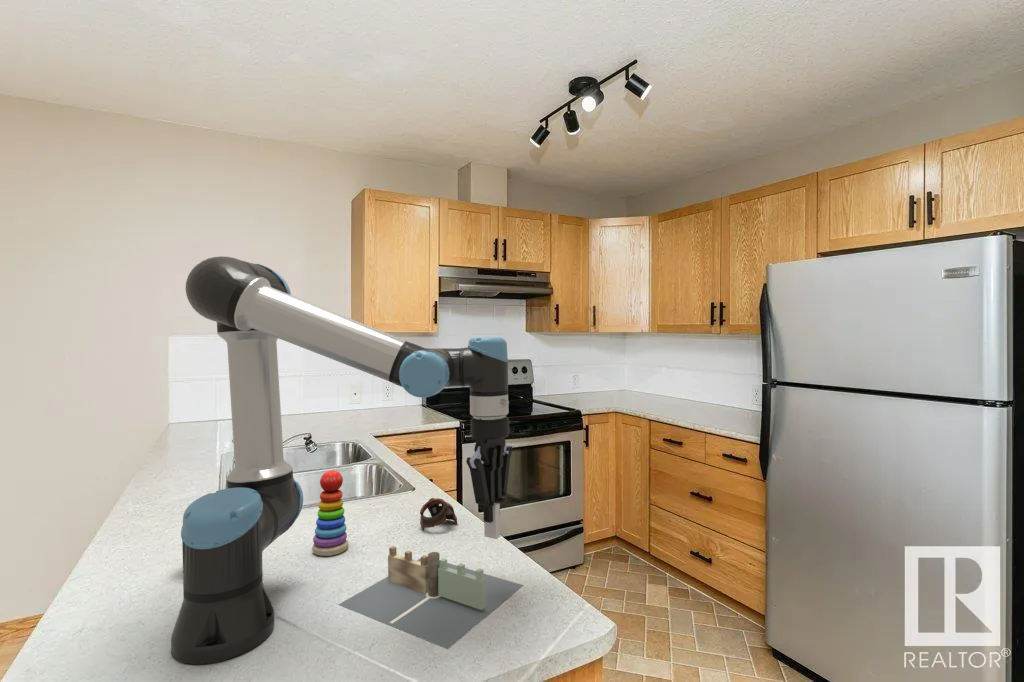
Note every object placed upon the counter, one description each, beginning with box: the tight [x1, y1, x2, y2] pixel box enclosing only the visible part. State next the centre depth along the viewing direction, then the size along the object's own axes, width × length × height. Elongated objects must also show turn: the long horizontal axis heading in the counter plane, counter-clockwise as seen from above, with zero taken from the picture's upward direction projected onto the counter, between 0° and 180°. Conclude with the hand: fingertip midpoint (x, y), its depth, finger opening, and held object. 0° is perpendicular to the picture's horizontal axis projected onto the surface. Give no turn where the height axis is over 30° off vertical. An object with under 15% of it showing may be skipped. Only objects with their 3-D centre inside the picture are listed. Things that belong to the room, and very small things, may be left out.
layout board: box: [337, 557, 524, 650], centre depth 98 cm, size 24×26×1 cm
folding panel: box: [438, 558, 485, 610], centre depth 95 cm, size 10×1×7 cm, turn 58°
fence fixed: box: [387, 545, 441, 597], centre depth 101 cm, size 13×2×8 cm, turn 58°
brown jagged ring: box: [419, 497, 458, 530], centre depth 136 cm, size 12×10×8 cm
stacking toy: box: [311, 470, 349, 557], centre depth 120 cm, size 8×8×19 cm
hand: (492, 536), depth 100 cm, fingers closed
